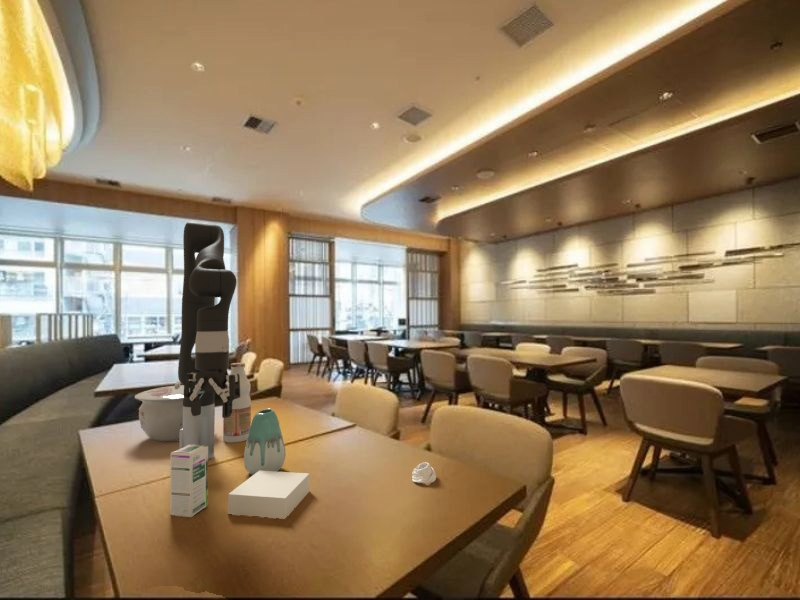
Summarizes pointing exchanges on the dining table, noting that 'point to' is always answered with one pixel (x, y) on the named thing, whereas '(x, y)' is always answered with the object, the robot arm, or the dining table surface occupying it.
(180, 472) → the syrup box
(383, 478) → the dining table surface
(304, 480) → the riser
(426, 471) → the whipped cream
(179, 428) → the chamber pot
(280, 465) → the vase
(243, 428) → the fruit juice
